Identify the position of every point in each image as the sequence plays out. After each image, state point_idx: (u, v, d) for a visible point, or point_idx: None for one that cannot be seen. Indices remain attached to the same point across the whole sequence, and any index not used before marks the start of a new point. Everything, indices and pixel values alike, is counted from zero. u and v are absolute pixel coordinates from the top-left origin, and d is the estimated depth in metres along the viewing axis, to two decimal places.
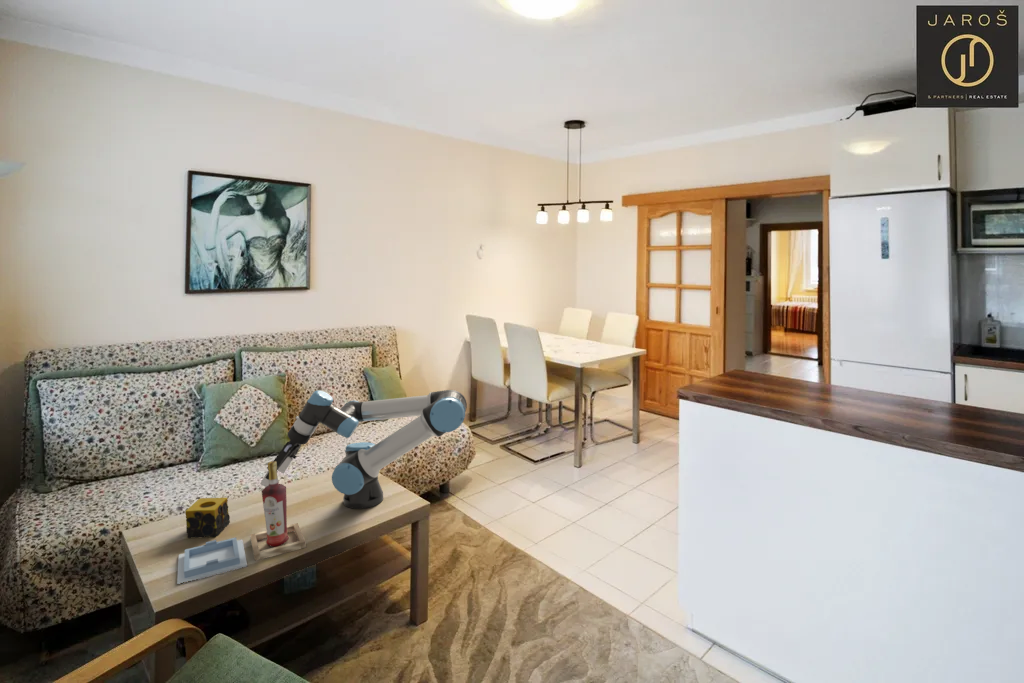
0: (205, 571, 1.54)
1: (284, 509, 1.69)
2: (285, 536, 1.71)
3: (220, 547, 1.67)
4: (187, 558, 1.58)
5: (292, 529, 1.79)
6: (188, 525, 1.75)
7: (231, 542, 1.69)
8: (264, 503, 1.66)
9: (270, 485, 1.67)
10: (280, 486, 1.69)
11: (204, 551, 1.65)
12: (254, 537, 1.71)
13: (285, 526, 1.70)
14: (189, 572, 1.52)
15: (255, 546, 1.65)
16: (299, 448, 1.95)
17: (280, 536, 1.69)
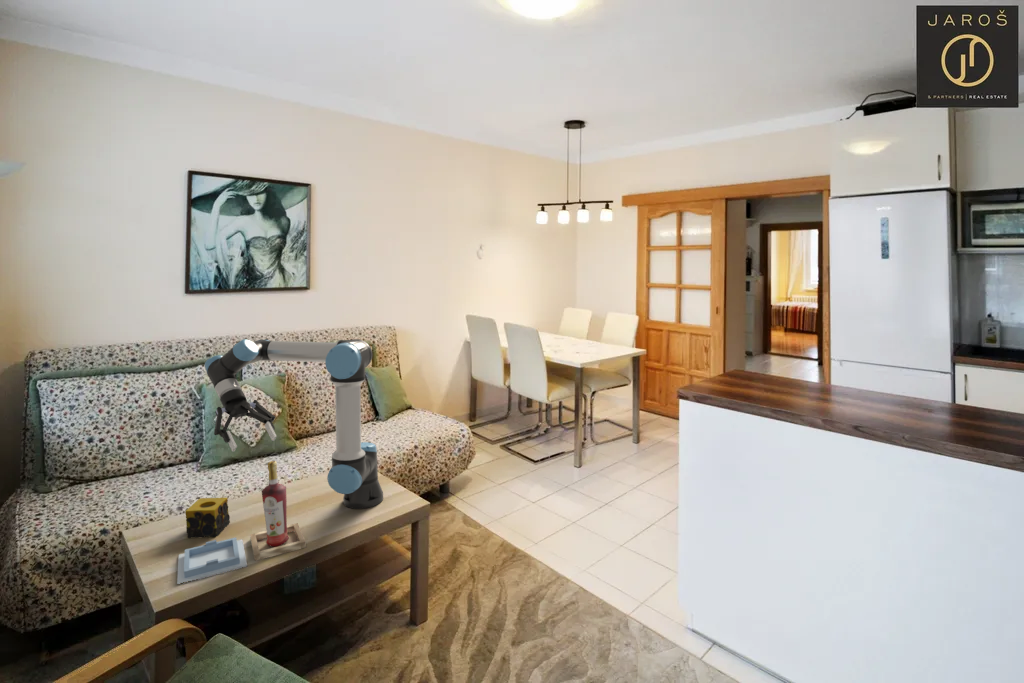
0: (205, 571, 1.54)
1: (284, 509, 1.69)
2: (285, 536, 1.71)
3: (220, 547, 1.67)
4: (187, 558, 1.58)
5: (292, 529, 1.79)
6: (188, 525, 1.75)
7: (231, 542, 1.69)
8: (264, 503, 1.66)
9: (270, 485, 1.67)
10: (280, 486, 1.69)
11: (204, 551, 1.65)
12: (254, 537, 1.71)
13: (285, 526, 1.70)
14: (189, 572, 1.52)
15: (255, 546, 1.65)
16: (267, 411, 1.85)
17: (280, 536, 1.69)
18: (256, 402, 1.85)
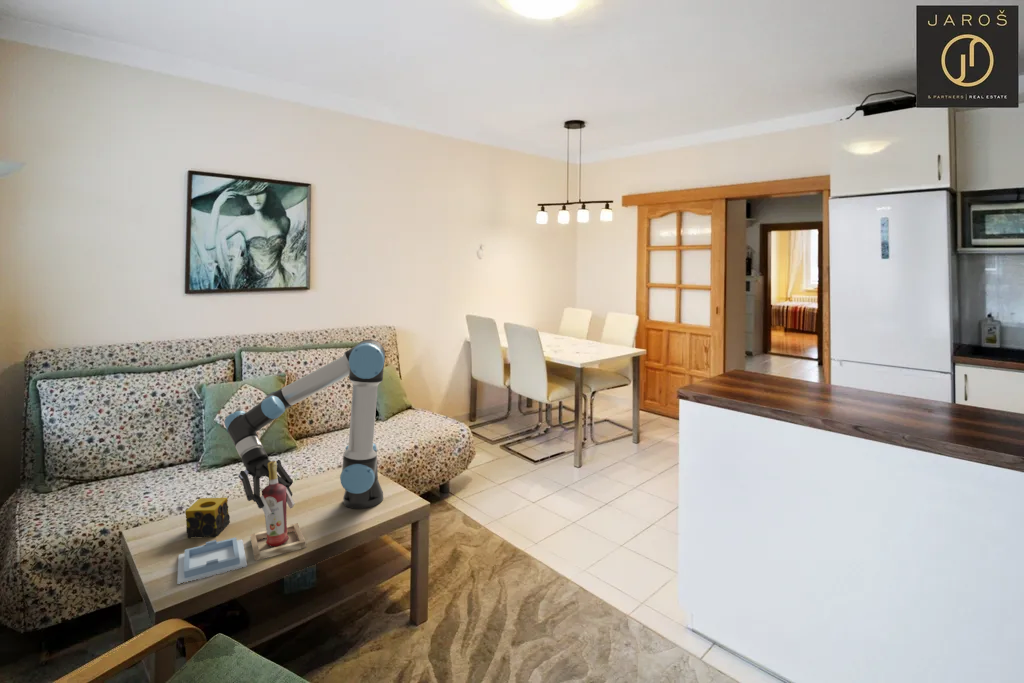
0: (205, 571, 1.54)
1: (284, 509, 1.69)
2: (285, 536, 1.71)
3: (220, 547, 1.67)
4: (187, 558, 1.58)
5: (292, 529, 1.79)
6: (188, 525, 1.75)
7: (231, 542, 1.69)
8: None
9: (270, 485, 1.67)
10: (280, 486, 1.69)
11: (204, 551, 1.65)
12: (254, 537, 1.71)
13: (285, 526, 1.70)
14: (189, 572, 1.52)
15: (255, 546, 1.65)
16: (287, 474, 1.76)
17: (280, 536, 1.69)
18: (279, 462, 1.77)
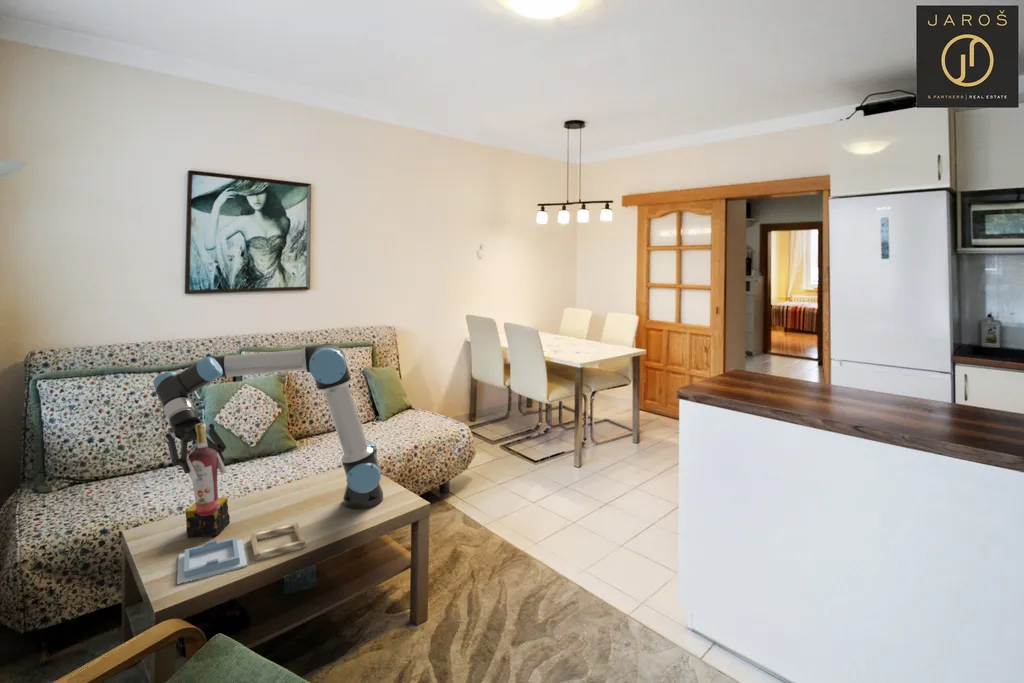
0: (205, 571, 1.54)
1: (214, 475, 1.57)
2: (216, 504, 1.58)
3: (220, 547, 1.67)
4: (187, 558, 1.58)
5: (292, 529, 1.79)
6: (188, 525, 1.75)
7: (231, 542, 1.69)
8: None
9: (198, 449, 1.55)
10: (209, 450, 1.56)
11: (204, 551, 1.65)
12: (254, 537, 1.71)
13: (215, 493, 1.58)
14: (189, 572, 1.52)
15: (255, 546, 1.65)
16: (220, 439, 1.63)
17: (209, 504, 1.56)
18: (211, 426, 1.65)
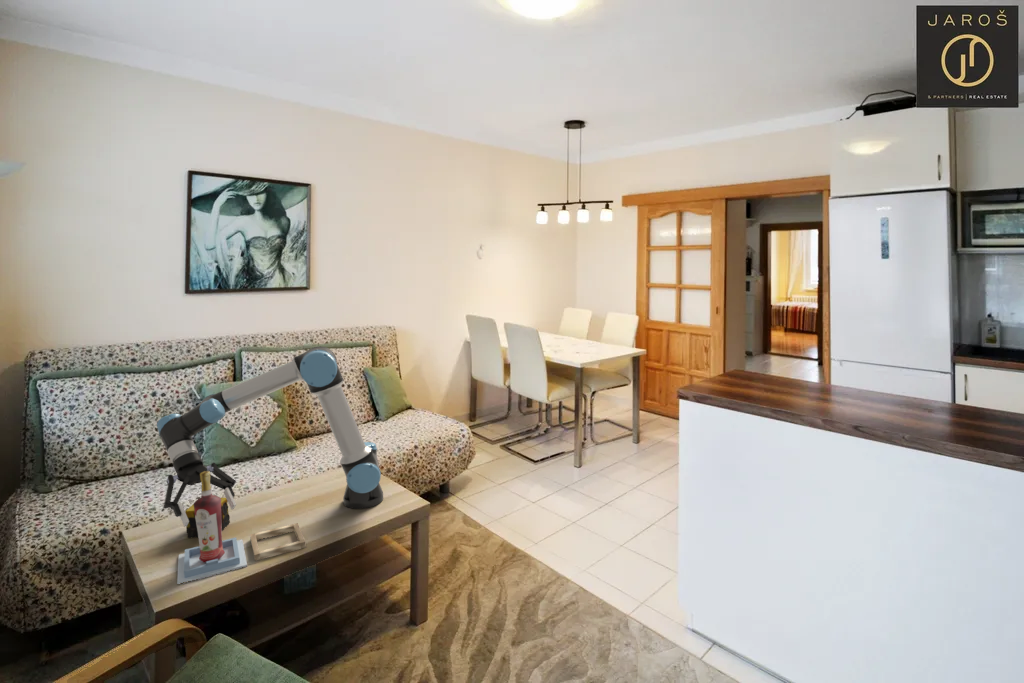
0: (205, 571, 1.54)
1: (218, 522, 1.59)
2: (220, 551, 1.60)
3: None
4: (187, 558, 1.58)
5: (292, 529, 1.79)
6: (188, 525, 1.75)
7: (231, 542, 1.69)
8: (196, 516, 1.56)
9: (203, 497, 1.57)
10: (214, 498, 1.59)
11: None
12: (254, 537, 1.71)
13: (220, 540, 1.60)
14: (189, 572, 1.52)
15: (255, 546, 1.65)
16: (227, 475, 1.67)
17: (214, 552, 1.58)
18: (214, 465, 1.67)
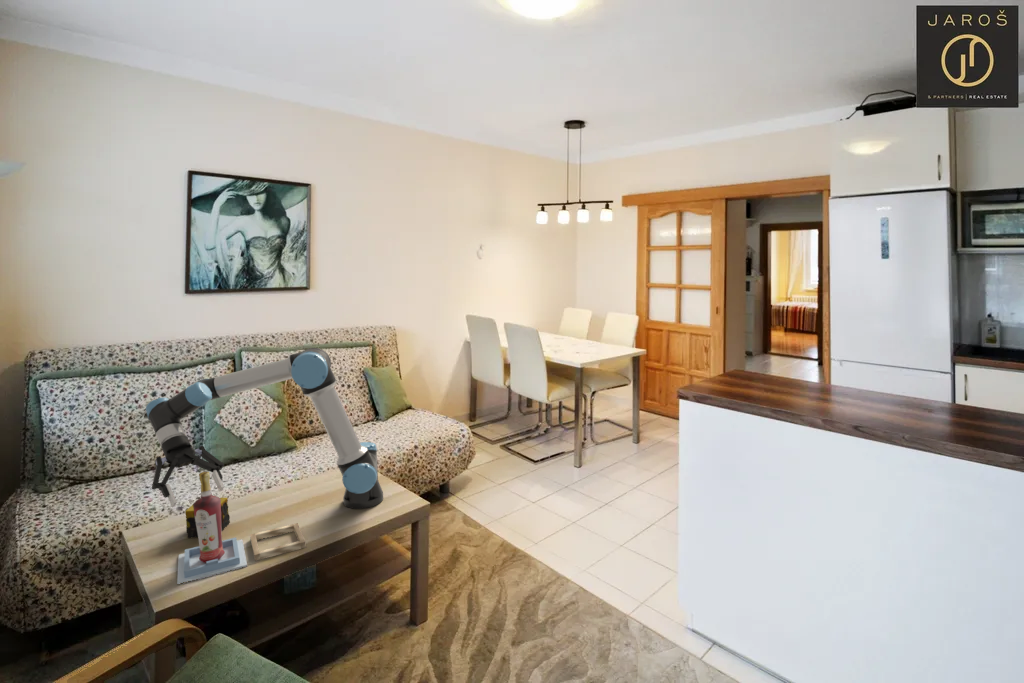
0: (205, 571, 1.54)
1: (218, 523, 1.59)
2: (220, 551, 1.60)
3: None
4: (187, 558, 1.58)
5: (292, 529, 1.79)
6: (188, 525, 1.75)
7: (231, 542, 1.69)
8: (195, 517, 1.56)
9: (202, 497, 1.57)
10: (213, 498, 1.58)
11: None
12: (254, 537, 1.71)
13: (220, 541, 1.60)
14: (189, 572, 1.52)
15: (255, 546, 1.65)
16: (215, 458, 1.70)
17: (214, 552, 1.58)
18: (202, 448, 1.69)
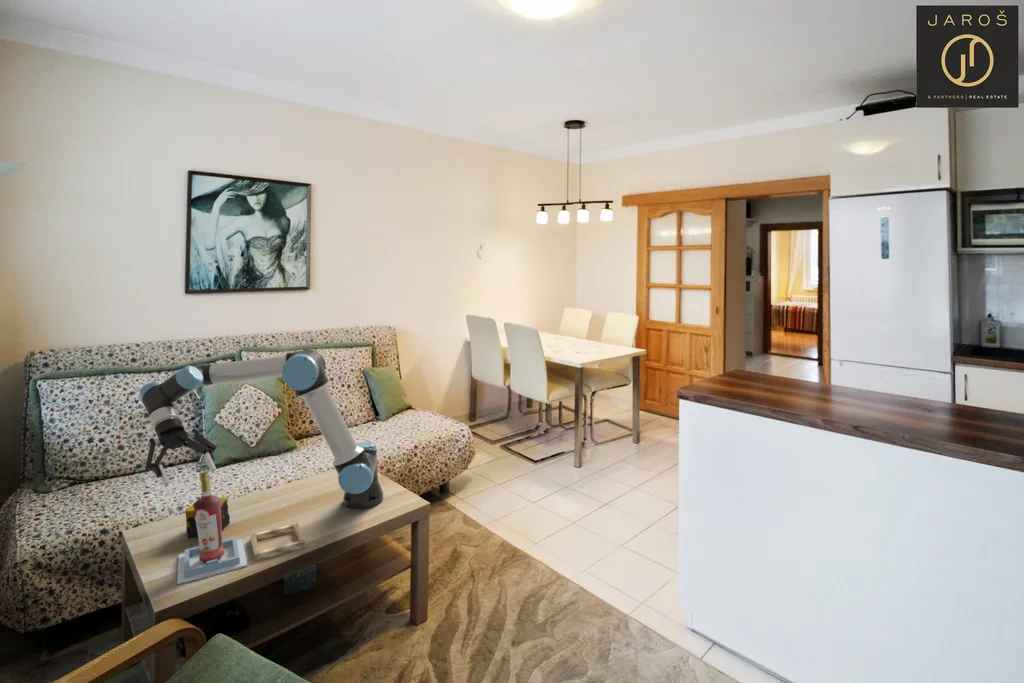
0: (205, 571, 1.54)
1: (218, 523, 1.59)
2: (220, 551, 1.60)
3: None
4: (187, 558, 1.58)
5: (292, 529, 1.79)
6: (188, 525, 1.75)
7: (231, 542, 1.69)
8: (196, 516, 1.56)
9: (202, 497, 1.57)
10: (214, 498, 1.58)
11: None
12: (254, 537, 1.71)
13: (220, 541, 1.60)
14: (189, 572, 1.52)
15: (255, 546, 1.65)
16: (208, 441, 1.73)
17: (214, 552, 1.58)
18: (195, 431, 1.73)
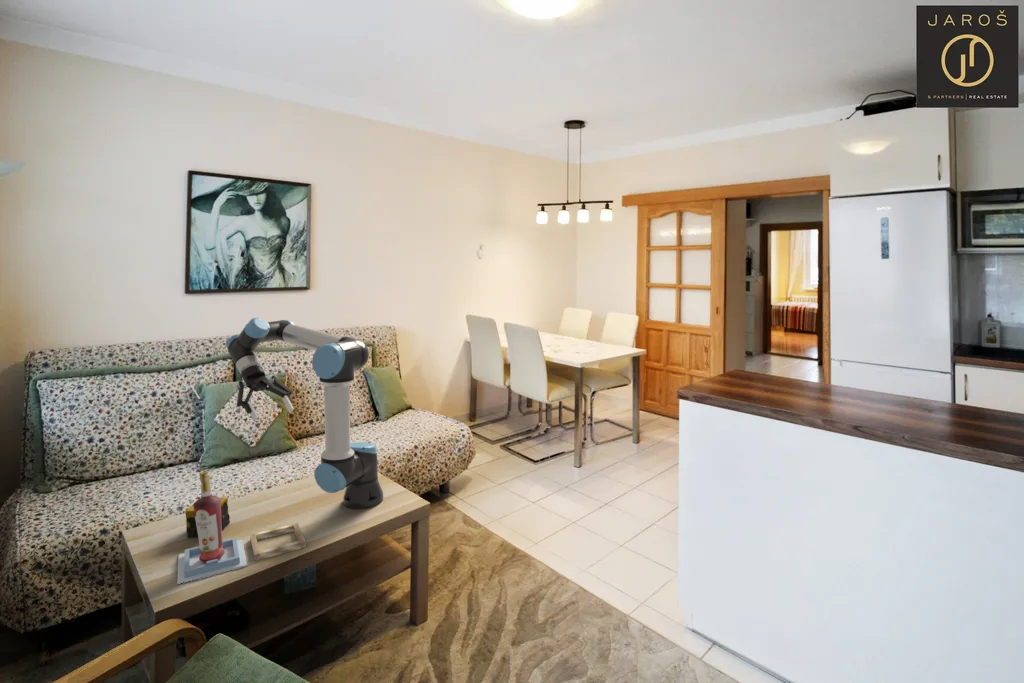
0: (205, 571, 1.54)
1: (218, 523, 1.59)
2: (220, 551, 1.60)
3: None
4: (187, 558, 1.58)
5: (292, 529, 1.79)
6: (188, 525, 1.75)
7: (231, 542, 1.69)
8: (196, 517, 1.56)
9: (202, 497, 1.57)
10: (214, 498, 1.58)
11: None
12: (254, 537, 1.71)
13: (220, 541, 1.60)
14: (189, 572, 1.52)
15: (255, 546, 1.65)
16: (285, 386, 1.98)
17: (214, 552, 1.58)
18: (274, 377, 1.98)
